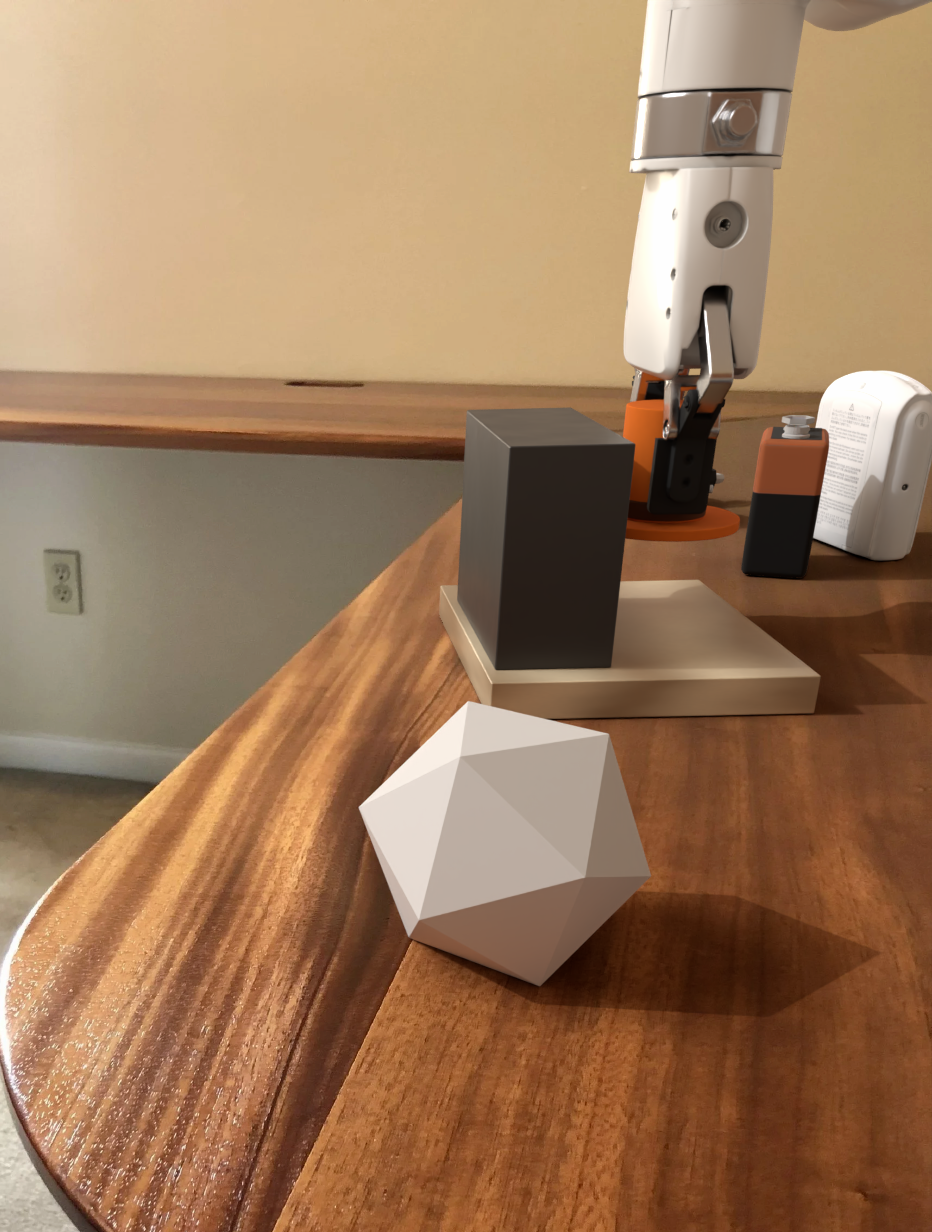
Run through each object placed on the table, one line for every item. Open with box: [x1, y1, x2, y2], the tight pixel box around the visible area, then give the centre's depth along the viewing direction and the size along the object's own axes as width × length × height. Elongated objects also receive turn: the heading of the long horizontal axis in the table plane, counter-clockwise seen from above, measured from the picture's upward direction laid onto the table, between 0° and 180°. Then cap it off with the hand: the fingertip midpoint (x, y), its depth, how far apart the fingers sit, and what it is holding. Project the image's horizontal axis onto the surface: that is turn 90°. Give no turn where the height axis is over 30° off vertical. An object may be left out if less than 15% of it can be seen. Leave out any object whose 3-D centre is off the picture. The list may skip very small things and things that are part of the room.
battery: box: [740, 414, 829, 579], centre depth 91 cm, size 4×7×10 cm, turn 159°
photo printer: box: [813, 370, 932, 562], centre depth 95 cm, size 10×4×12 cm, turn 11°
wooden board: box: [438, 579, 822, 720], centre depth 74 cm, size 16×20×2 cm
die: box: [358, 700, 652, 987], centre depth 43 cm, size 8×9×10 cm
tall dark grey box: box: [457, 406, 636, 670], centre depth 70 cm, size 6×14×11 cm, turn 0°
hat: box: [622, 399, 741, 543], centre depth 74 cm, size 9×9×7 cm
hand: (661, 499), depth 75 cm, fingers closed on hat, 5 cm apart
